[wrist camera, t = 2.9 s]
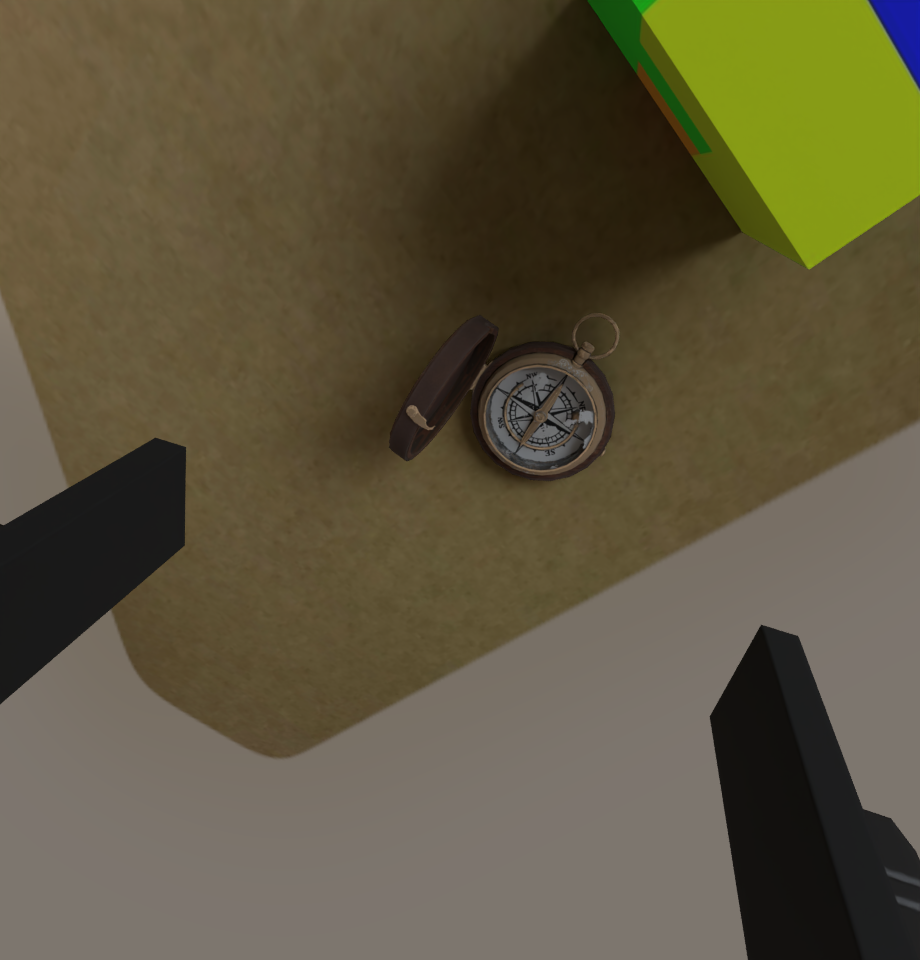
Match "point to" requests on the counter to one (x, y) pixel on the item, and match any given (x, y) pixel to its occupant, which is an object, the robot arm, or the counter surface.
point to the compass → (514, 402)
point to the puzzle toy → (787, 107)
